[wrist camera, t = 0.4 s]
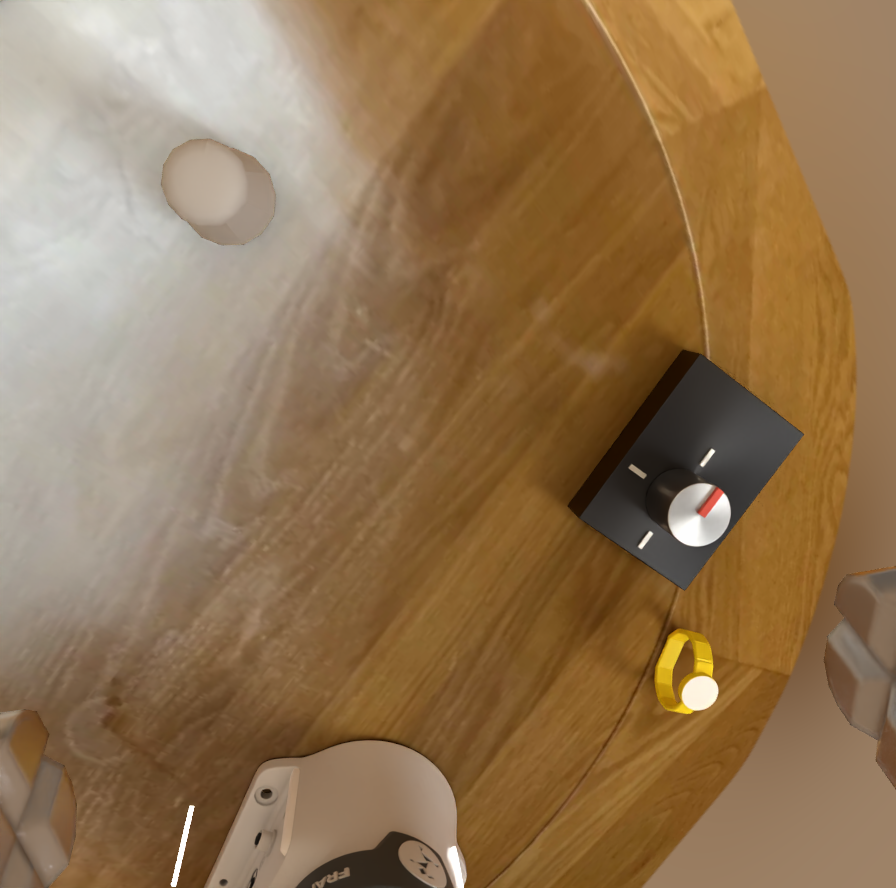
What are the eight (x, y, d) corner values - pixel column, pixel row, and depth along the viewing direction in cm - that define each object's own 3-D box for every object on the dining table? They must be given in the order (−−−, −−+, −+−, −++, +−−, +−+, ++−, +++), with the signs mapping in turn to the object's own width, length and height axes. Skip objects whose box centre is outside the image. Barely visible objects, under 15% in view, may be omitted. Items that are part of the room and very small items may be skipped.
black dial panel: (668, 576, 64) (685, 591, 61) (567, 506, 62) (579, 518, 59) (782, 426, 63) (805, 434, 60) (682, 349, 61) (701, 353, 58)
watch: (665, 614, 65) (698, 648, 59) (697, 622, 65) (733, 657, 60) (639, 684, 66) (668, 725, 60) (671, 692, 66) (703, 733, 61)
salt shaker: (296, 205, 55) (286, 188, 42) (232, 265, 55) (203, 266, 43) (231, 133, 54) (201, 93, 41) (166, 195, 54) (115, 174, 41)
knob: (679, 540, 60) (705, 560, 56) (633, 507, 59) (656, 525, 55) (717, 490, 60) (746, 507, 56) (671, 456, 59) (697, 471, 55)
